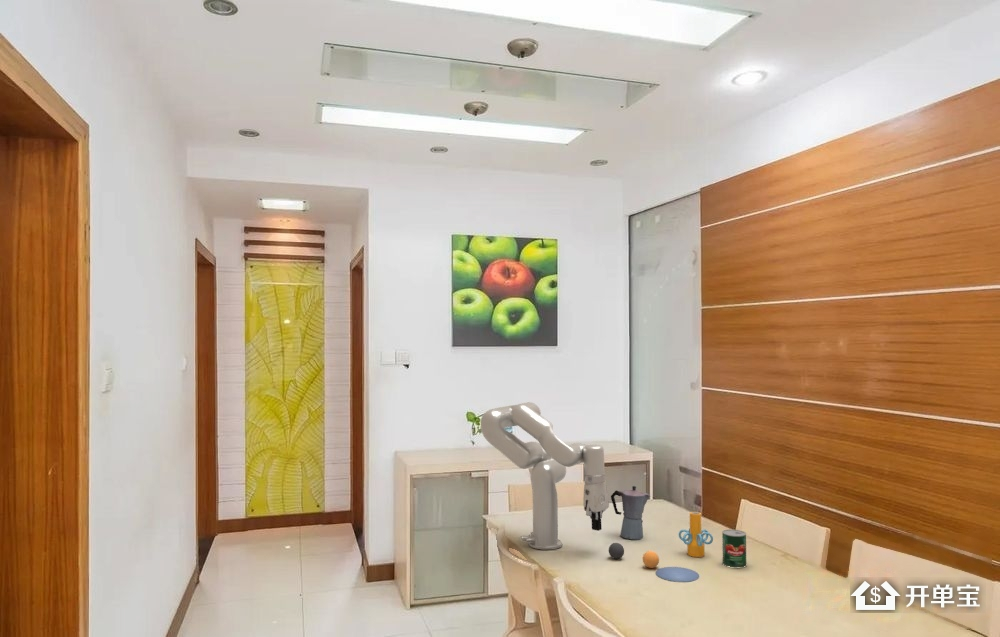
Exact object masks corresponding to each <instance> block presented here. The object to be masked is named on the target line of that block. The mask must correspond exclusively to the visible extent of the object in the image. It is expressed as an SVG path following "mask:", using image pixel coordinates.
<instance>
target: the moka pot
mask: <svg viewBox="0 0 1000 637" xmlns="http://www.w3.org/2000/svg"><path fill="white" fill-rule="evenodd" d="M631 488H632V490H630V489H629V490H623V491H621V490H614V492H613V493H612V494H610V500H611V503H612V506H613V509H614V510H613V511H614V513H615V514H616V515H618V516H619V515H620V516H621V515H623V517H622V518H623V519H622V525H621V530H620V537H622V538H623V539H627V540H642V539H643V538H644V530H643V529H644V528H643V513H644V511H645V510H644V509H645V506H646V505H647V502H648V500H649V498H650V497H651V494H649V493H646V492H643V491H641V490H637V486H635V485H633V486H632V487H631ZM616 496H618V497H621V502H622V503H621V504H622V511H623V514H622V512H621V511H618V510H619V509H618V508H617V503H616V499H615V497H616Z"/></svg>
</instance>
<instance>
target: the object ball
mask: <svg viewBox="0 0 1000 637" xmlns="http://www.w3.org/2000/svg"><path fill="white" fill-rule="evenodd" d="M642 563H643V565H644V566H645V567H647V568H649V569H653V568H656V567H657V566H658V565H659V563H660V558H659V555H658V553H656V552H655V551H653V550H648V551H646V552H644V554H643V556H642Z"/></svg>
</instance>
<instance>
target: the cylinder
mask: <svg viewBox="0 0 1000 637" xmlns="http://www.w3.org/2000/svg"><path fill="white" fill-rule="evenodd" d="M683 532H684V535H683V537H682V533H683ZM687 536H688V537H687ZM704 536H705V538H704ZM686 537H687V538H686ZM678 538H679V539H680V541H682V542H683V544H684V545H686V547H687V548H686V550H687V552H686V553H687V556H689V557H692V558H703V557H705V553H706V552H705V545H711V544H712V543H713V541H714V536H713V535H712V534H711V533H710V532H708V530H707V529H702V513H701V512H698V511H691V512H689V528H688V530H687V529H681V530H679V532H678ZM708 538H710V541H707V540H708Z"/></svg>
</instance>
